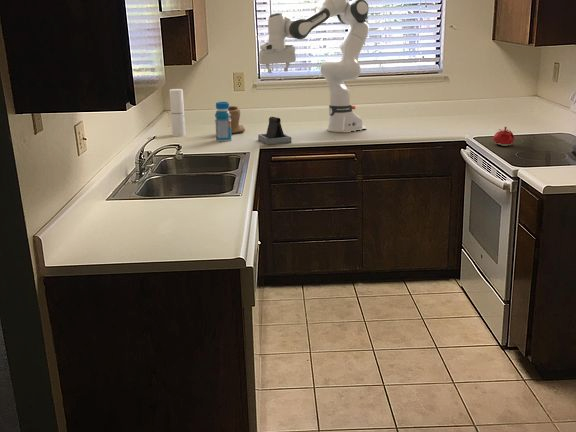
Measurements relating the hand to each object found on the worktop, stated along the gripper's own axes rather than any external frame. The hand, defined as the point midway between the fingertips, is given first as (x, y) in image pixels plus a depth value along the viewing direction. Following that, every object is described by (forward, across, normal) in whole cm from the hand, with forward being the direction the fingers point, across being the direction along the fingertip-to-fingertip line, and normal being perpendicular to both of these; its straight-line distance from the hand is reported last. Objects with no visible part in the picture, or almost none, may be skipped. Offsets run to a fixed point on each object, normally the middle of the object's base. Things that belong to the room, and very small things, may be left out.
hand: (277, 72), depth 342 cm
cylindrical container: (+33, +51, -24) cm, 65 cm away
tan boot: (+34, +22, -16) cm, 43 cm away
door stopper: (+33, +10, +16) cm, 38 cm away
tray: (+34, +10, +16) cm, 39 cm away
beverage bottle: (+33, +33, +1) cm, 47 cm away
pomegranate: (+35, -87, +79) cm, 123 cm away
